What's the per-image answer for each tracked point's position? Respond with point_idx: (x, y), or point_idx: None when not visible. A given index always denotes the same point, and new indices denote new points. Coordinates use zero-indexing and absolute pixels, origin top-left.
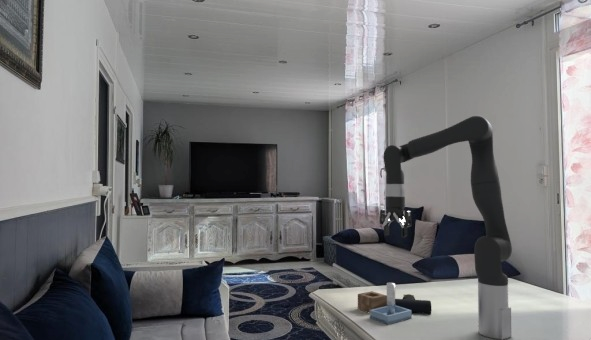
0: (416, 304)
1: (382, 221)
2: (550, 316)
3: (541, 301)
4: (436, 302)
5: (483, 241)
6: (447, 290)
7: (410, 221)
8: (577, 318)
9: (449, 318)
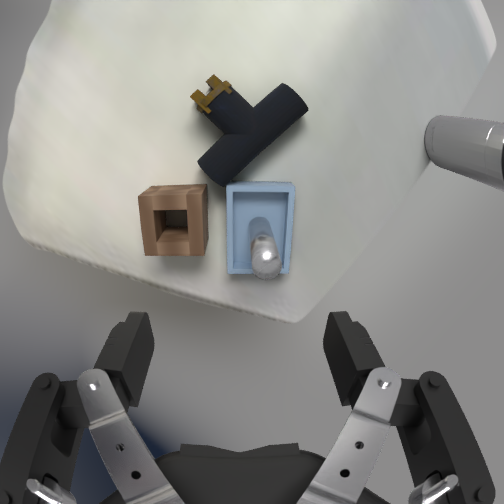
0: (276, 136)
1: (77, 431)
2: None
3: None
4: (236, 4)
5: None
6: None
7: (451, 416)
8: None
9: (349, 104)
